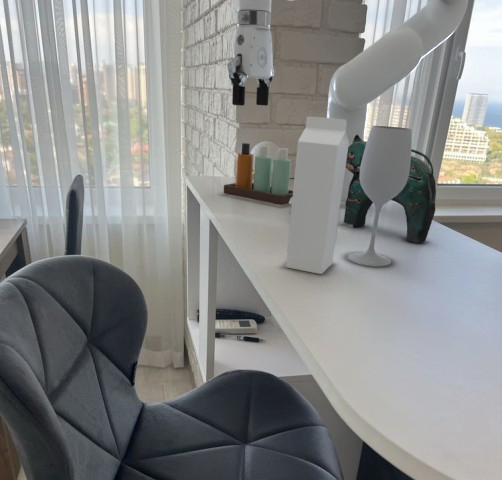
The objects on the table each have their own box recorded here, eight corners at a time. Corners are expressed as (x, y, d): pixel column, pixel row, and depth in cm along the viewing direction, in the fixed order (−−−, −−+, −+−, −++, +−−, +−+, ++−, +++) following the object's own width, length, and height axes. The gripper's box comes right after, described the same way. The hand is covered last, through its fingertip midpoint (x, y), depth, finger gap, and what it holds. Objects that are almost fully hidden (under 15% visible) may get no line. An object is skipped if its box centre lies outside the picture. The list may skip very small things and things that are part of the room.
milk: (297, 258, 85) (312, 115, 75) (332, 264, 83) (352, 119, 73) (285, 267, 80) (299, 116, 70) (322, 275, 78) (341, 119, 68)
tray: (299, 202, 126) (300, 191, 125) (280, 207, 120) (281, 196, 119) (243, 191, 135) (244, 181, 134) (223, 195, 129) (223, 184, 128)
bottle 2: (289, 199, 126) (293, 148, 121) (285, 202, 122) (290, 150, 117) (272, 197, 127) (276, 147, 122) (268, 200, 123) (272, 148, 118)
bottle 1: (271, 195, 129) (275, 146, 124) (267, 198, 125) (270, 147, 120) (255, 194, 130) (258, 144, 124) (250, 196, 126) (254, 146, 121)
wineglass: (338, 254, 88) (357, 124, 79) (375, 252, 91) (397, 126, 81) (362, 268, 82) (384, 129, 73) (401, 265, 84) (427, 130, 75)
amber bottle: (253, 192, 132) (256, 143, 126) (248, 195, 128) (251, 145, 123) (238, 190, 133) (240, 142, 127) (233, 193, 129) (235, 143, 124)
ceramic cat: (333, 223, 108) (347, 123, 99) (350, 220, 113) (365, 123, 104) (417, 246, 96) (441, 133, 87) (433, 241, 100) (457, 133, 92)
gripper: (244, 16, 106) (241, 106, 113) (288, 26, 118) (282, 106, 126) (216, 17, 109) (215, 104, 117) (261, 26, 122) (258, 104, 130)
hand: (250, 105), depth 121 cm, fingers open, 9 cm apart
